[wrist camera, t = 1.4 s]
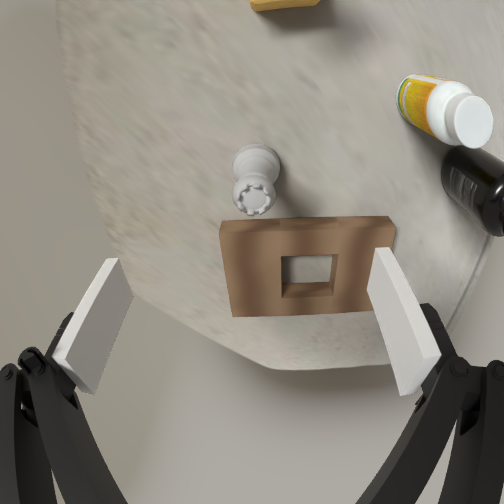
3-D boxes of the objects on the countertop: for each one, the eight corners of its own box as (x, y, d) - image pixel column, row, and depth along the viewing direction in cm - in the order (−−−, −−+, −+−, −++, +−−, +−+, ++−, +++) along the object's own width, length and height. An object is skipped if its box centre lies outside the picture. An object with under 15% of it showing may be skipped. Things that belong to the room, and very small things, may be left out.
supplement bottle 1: (427, 66, 20) (489, 77, 12) (446, 114, 23) (505, 142, 15) (385, 85, 22) (437, 100, 14) (406, 133, 25) (458, 168, 17)
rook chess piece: (244, 192, 29) (238, 235, 23) (225, 152, 27) (211, 185, 21) (286, 176, 28) (293, 216, 22) (269, 135, 26) (270, 162, 19)
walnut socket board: (388, 216, 30) (396, 228, 28) (371, 296, 37) (375, 310, 35) (221, 220, 31) (218, 233, 29) (234, 302, 38) (232, 316, 36)
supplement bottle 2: (465, 205, 28) (521, 268, 19) (429, 181, 27) (490, 244, 18) (491, 159, 25) (558, 210, 15) (457, 129, 24) (532, 174, 14)
